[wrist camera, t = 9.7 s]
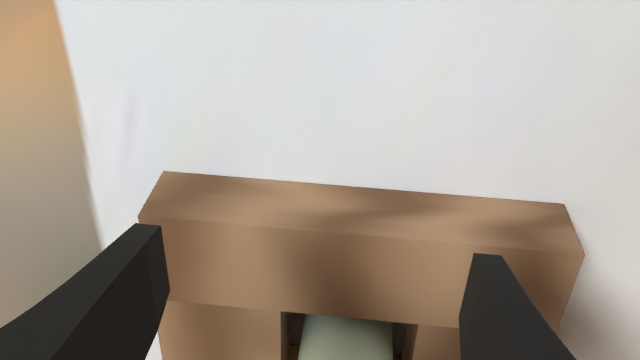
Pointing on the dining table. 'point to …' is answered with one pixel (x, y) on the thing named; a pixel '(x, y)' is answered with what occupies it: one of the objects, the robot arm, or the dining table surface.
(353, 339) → the peg
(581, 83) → the dining table surface
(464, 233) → the peg board
